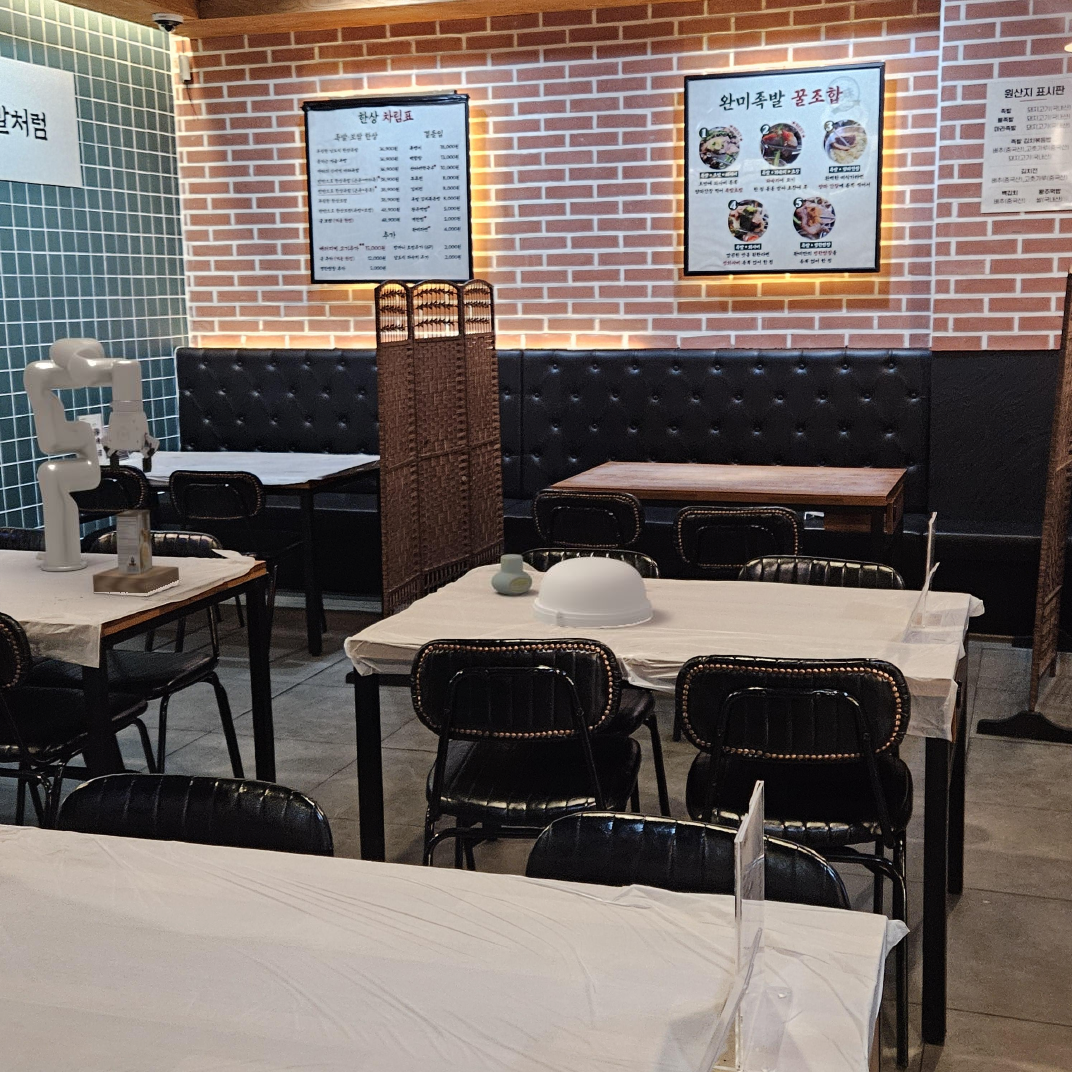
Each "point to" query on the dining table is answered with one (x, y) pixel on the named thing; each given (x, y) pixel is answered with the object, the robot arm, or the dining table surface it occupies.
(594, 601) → the dome cover
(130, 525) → the coffee box
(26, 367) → the robot arm
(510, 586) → the air freshener
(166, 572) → the walnut base
